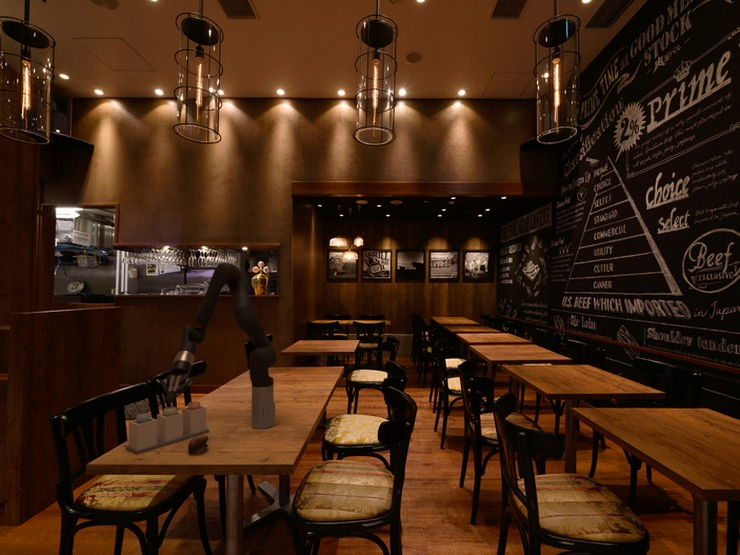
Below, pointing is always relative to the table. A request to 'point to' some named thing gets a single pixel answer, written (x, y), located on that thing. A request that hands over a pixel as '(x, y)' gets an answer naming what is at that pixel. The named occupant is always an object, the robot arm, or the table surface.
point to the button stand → (166, 430)
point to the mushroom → (198, 444)
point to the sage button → (170, 411)
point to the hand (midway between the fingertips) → (169, 401)
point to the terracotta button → (194, 405)
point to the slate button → (142, 418)
